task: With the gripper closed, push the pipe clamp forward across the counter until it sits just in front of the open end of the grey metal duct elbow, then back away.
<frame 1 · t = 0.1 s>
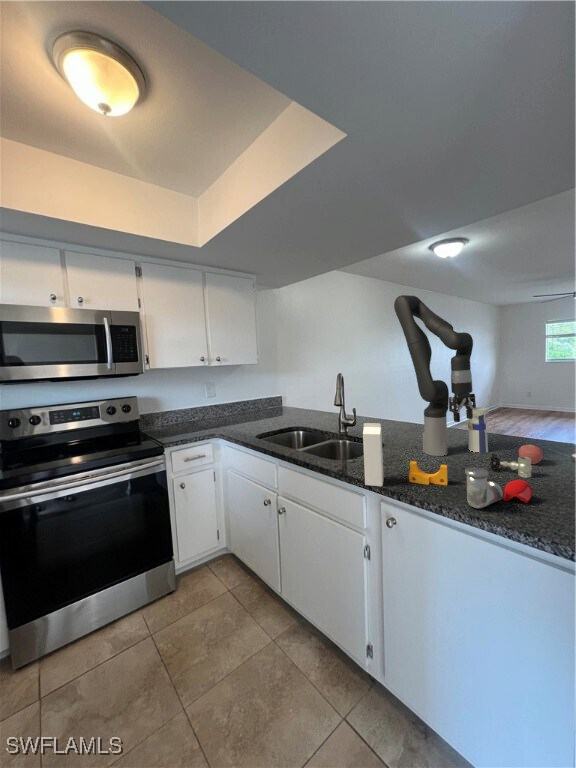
hand: (463, 420, 129), 17 cm above the worktop, tool pointing down, fingers open, 8 cm apart
cap: (517, 500, 95), on the worktop
duct elbow: (485, 503, 93), on the worktop
milk: (374, 483, 114), on the worktop
pipe clamp: (428, 483, 111), on the worktop
apple: (530, 463, 123), on the worktop
valve: (511, 474, 115), on the worktop
water bottle: (478, 451, 142), on the worktop
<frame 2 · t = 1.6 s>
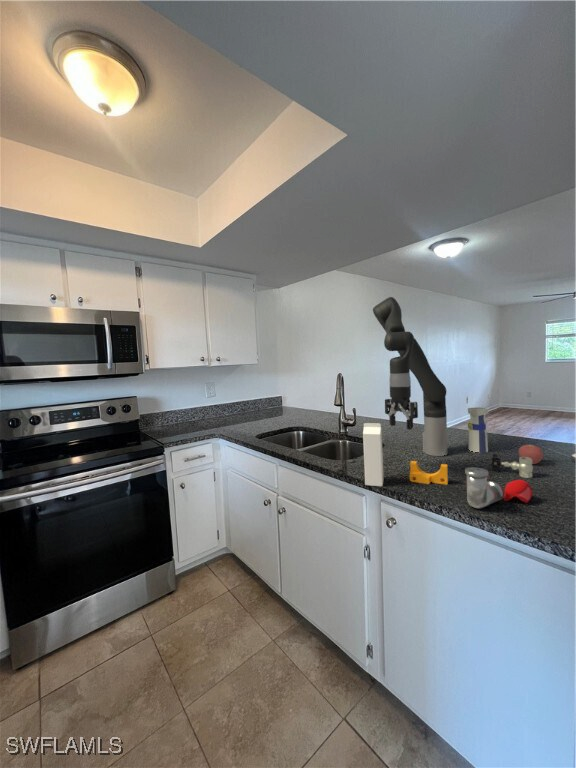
hand: (401, 427, 120), 18 cm above the worktop, tool pointing down, fingers open, 7 cm apart
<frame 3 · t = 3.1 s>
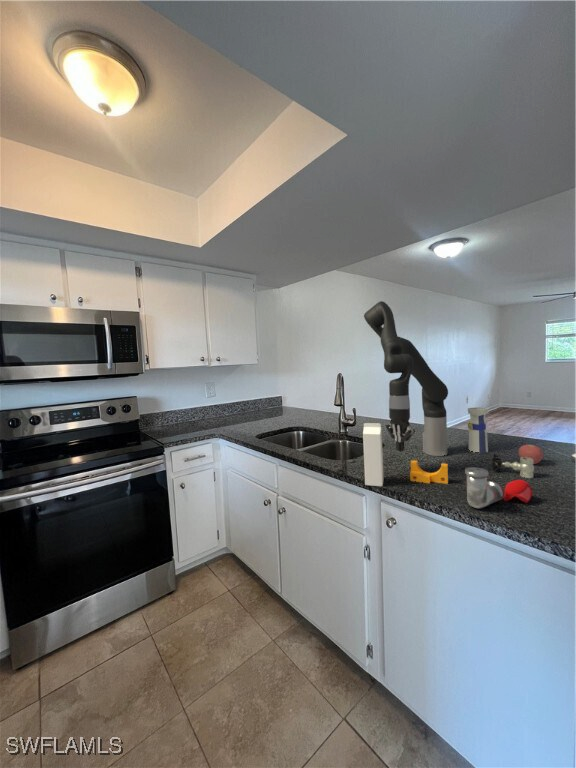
hand: (400, 450, 121), 9 cm above the worktop, tool pointing down, fingers closed
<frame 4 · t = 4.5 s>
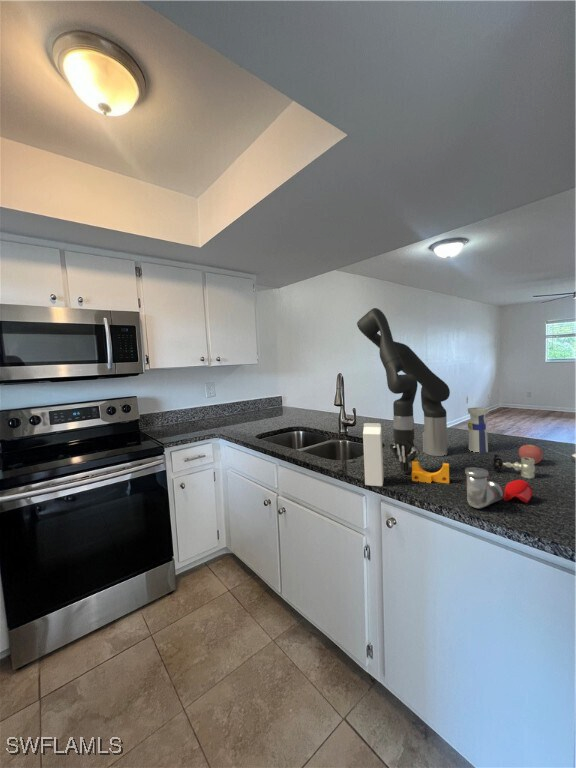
hand: (404, 471, 120), 1 cm above the worktop, tool pointing down, fingers closed
pipe clamp: (430, 481, 112), on the worktop, touching hand
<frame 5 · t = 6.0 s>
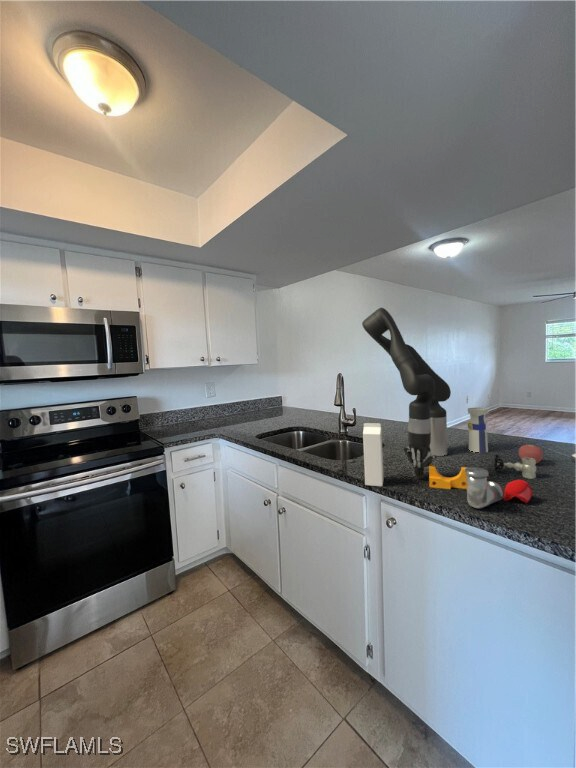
hand: (419, 476, 114), 1 cm above the worktop, tool pointing down, fingers closed
pipe clamp: (448, 487, 107), on the worktop, touching hand
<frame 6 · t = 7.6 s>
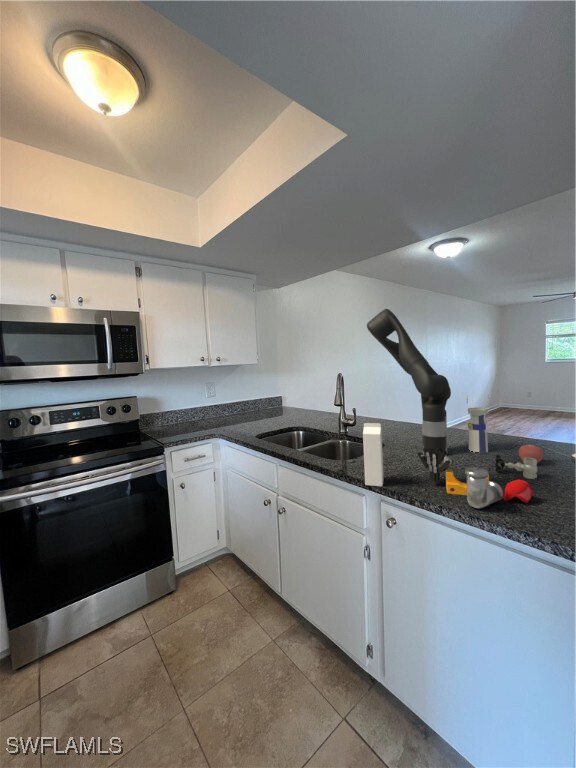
hand: (435, 482, 108), 1 cm above the worktop, tool pointing down, fingers closed
pipe clamp: (467, 493, 102), on the worktop, touching hand
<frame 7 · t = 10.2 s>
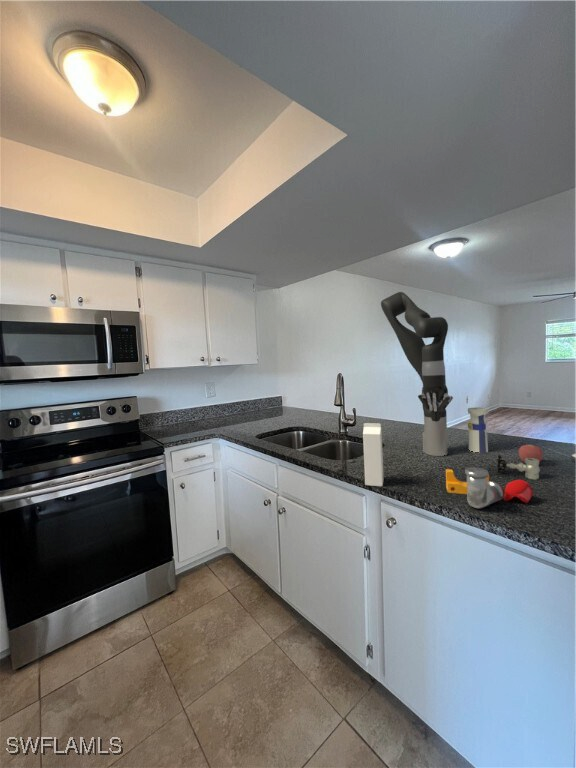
hand: (435, 421, 113), 21 cm above the worktop, tool pointing down, fingers closed
pipe clamp: (467, 492, 102), on the worktop
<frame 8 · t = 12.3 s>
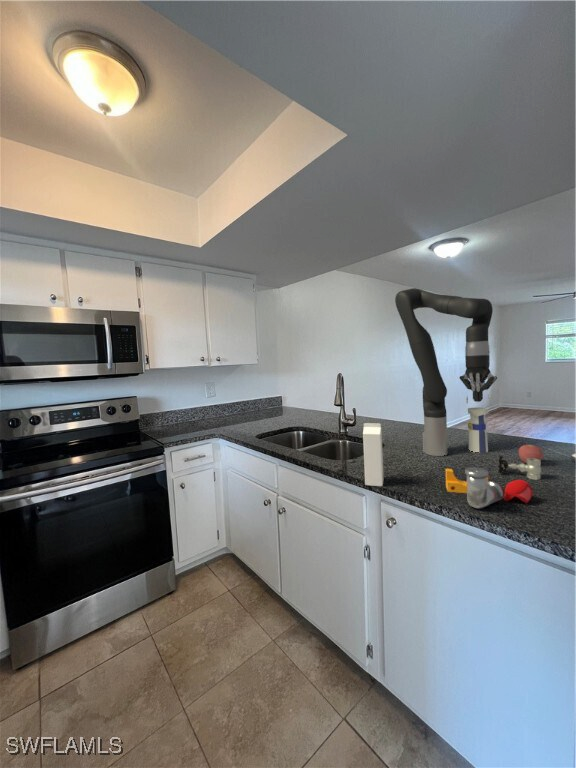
hand: (477, 401, 115), 27 cm above the worktop, tool pointing down, fingers closed
at the end: pipe clamp inside the target area (5.2 cm from its centre), on the worktop; pipe clamp moved 12.3 cm from its start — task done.
